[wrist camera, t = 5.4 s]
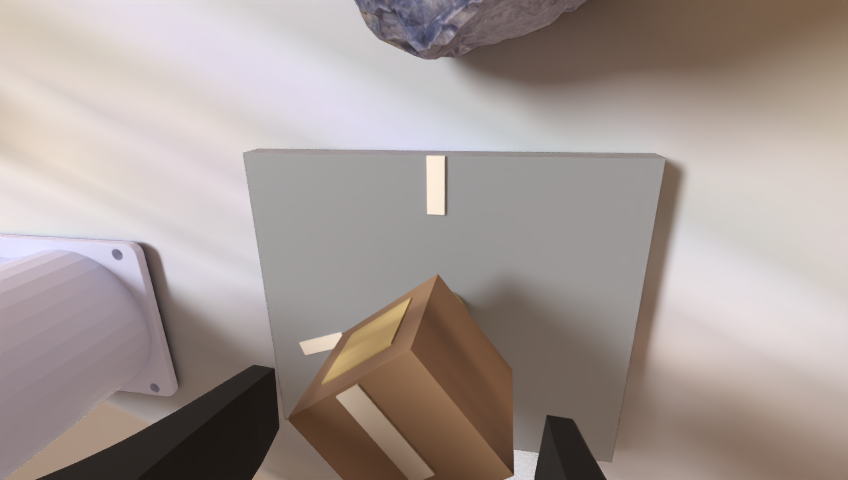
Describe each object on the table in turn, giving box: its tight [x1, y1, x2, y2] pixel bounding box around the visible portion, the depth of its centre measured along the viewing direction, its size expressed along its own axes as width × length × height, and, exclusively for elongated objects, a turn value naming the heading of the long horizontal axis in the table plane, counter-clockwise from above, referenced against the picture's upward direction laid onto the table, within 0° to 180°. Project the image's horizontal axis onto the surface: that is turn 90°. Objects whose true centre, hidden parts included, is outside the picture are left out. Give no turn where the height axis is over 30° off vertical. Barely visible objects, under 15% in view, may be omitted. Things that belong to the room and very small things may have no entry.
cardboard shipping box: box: [288, 274, 514, 480], centre depth 12 cm, size 4×4×4 cm
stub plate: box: [243, 149, 666, 462], centre depth 16 cm, size 14×12×3 cm
